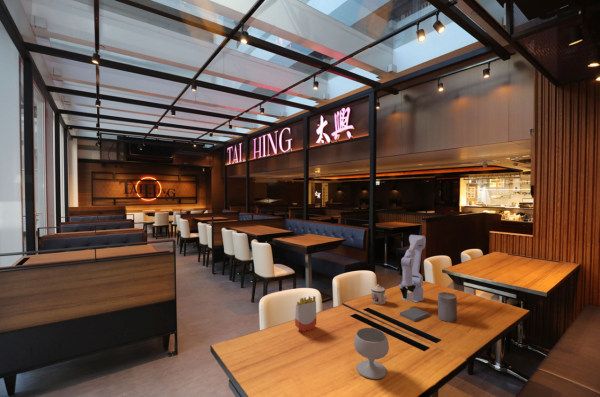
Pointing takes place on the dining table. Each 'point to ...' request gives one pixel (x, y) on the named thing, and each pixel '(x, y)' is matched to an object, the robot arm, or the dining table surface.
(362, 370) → the chalice
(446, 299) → the pillar candle
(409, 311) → the serving board
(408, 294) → the cube
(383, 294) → the teacup with lid
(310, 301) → the french fries container
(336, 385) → the dining table surface
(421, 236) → the robot arm
